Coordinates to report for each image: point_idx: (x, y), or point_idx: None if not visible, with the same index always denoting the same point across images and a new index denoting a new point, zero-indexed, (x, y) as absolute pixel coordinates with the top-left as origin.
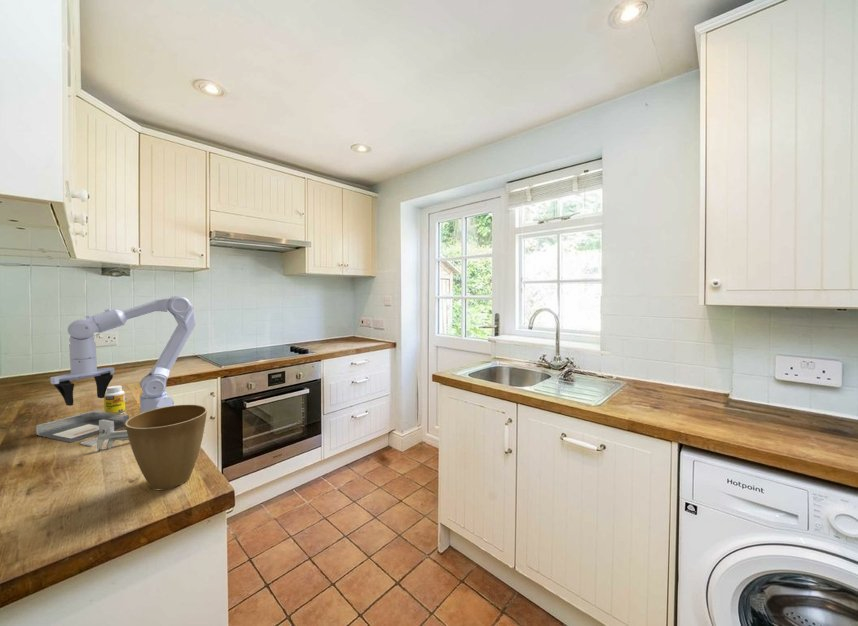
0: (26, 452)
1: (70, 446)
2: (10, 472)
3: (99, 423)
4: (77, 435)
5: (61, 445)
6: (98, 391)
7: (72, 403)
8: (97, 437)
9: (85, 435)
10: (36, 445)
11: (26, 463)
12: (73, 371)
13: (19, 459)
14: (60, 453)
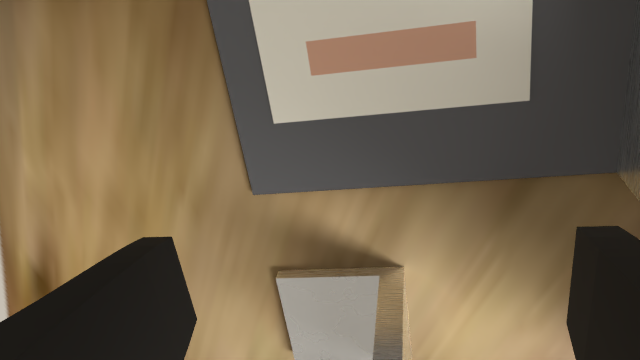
0: (60, 126)
1: (235, 253)
2: None
3: (374, 353)
4: (322, 97)
5: (209, 189)
6: (629, 332)
7: (180, 342)
8: (363, 283)
9: (353, 148)
10: (108, 30)
11: None
12: None
13: (36, 212)
14: None
